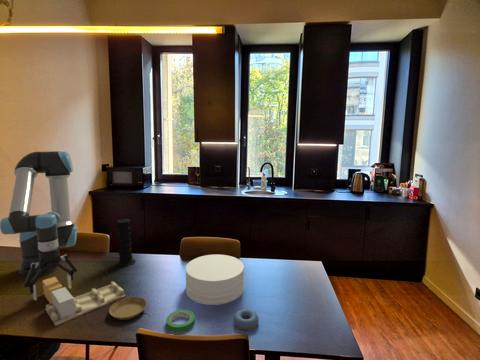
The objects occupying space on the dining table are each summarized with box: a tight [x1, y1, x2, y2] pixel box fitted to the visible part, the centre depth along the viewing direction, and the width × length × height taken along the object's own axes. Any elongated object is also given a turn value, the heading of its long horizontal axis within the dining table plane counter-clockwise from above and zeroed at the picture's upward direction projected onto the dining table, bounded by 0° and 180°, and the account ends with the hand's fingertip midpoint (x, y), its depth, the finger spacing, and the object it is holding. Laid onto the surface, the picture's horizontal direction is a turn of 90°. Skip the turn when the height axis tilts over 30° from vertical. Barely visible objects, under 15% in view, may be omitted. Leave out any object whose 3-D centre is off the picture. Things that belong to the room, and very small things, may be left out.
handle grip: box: [116, 218, 136, 268], centre depth 163 cm, size 10×26×10 cm
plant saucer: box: [108, 296, 148, 321], centre depth 119 cm, size 15×15×3 cm
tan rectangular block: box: [42, 276, 64, 306], centre depth 129 cm, size 12×5×7 cm, turn 47°
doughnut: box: [233, 308, 259, 331], centre depth 112 cm, size 10×10×5 cm
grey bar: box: [52, 286, 75, 319], centre depth 118 cm, size 12×5×7 cm, turn 46°
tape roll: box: [165, 309, 196, 334], centre depth 112 cm, size 11×11×3 cm
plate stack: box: [185, 254, 245, 306], centre depth 137 cm, size 28×28×12 cm
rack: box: [45, 280, 127, 327], centre depth 125 cm, size 15×28×3 cm, turn 136°
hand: (53, 293), depth 129 cm, fingers open, 13 cm apart
